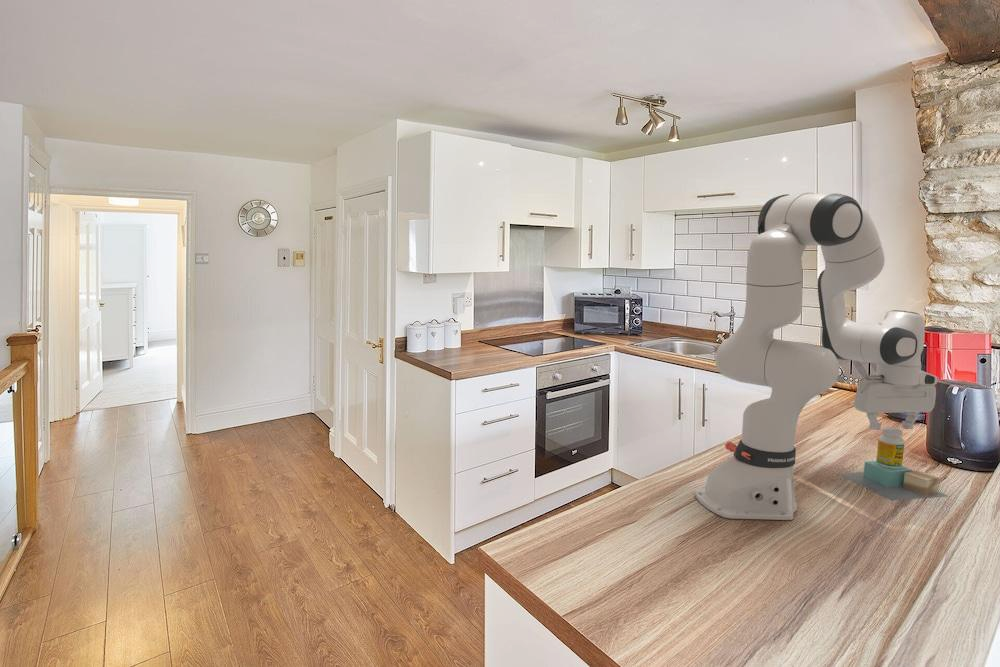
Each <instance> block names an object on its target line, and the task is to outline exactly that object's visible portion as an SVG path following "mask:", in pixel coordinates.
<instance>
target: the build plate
mask: <svg viewBox="0 0 1000 667" xmlns="http://www.w3.org/2000/svg"><path fill="white" fill-rule="evenodd" d="M863 474H864V471H861V472H846V473H844V472H842V473H838V475H839V476H841V477H843V478H845V479H847V480H849V481H851V482H853V483H855V484H857V485H858V486H859V485H860V486H861V487H863V488H865V489H867V490H869V491H872V492H874V493H875V494H877V495H879V496H881V497H883V498H886V499H888V500H890V501H891V502H892V501H893V502H894V501H907V500H920V499H921V500H922V499H931V498H933V499H934V498H947V497H949V495H947V494H945V493H943V492H942V491H940V490H939V491H938V493H936V494H933V495H929V496H923V495H921V494H918V493H915V492H912V491H910V490H907V489H904V488H903V486H897V487H886V486H883V485H881V484H879V483H877V482H875V481H873V480H871V479H868V478H866V477H864V476H863Z"/></svg>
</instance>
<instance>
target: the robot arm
mask: <svg viewBox="0 0 1000 667" xmlns="http://www.w3.org/2000/svg"><path fill="white" fill-rule="evenodd" d="M749 246H750V247H749V251H748V256H747V262H746V276H745V278H746V280H745V284H746V285H745V286H746V287H745V291H746V293H745V308H744V315H743V319H742V322H741V324H740V325H739V327H738V329H736V331H735V332H734V333H733V334H732V335H730V336H729V337H728V338H726V339H724V340H723V341H722V342H721V343H720V345H719V346H718V348H717V349H716V351H715V359H714V361H715V365H716V368H717V370H718V372H719V373H720V374H721V376H723V377H725V378H727V379H731V380H733V381H737V382H739V383H744V384H749V385H750V384H751V385H756V386H762V387H768V388H771V394H770V397H767V398H765V399H761V400H758V401H755V402H752V403H750V404H749V405H747V407H746V408H745V409H744V411H743V415H742V429H741V438H740V440H739V441H738V444H737V445H736V444H735V443H734V442H732V441H727V442H726V443H725V444H724V448H725V449H726V450H727V451H729V452H731V453H733V455H732V456H731V457H730V458H728V459H727V460H725V461H723V463H721V464H720V465H718V466H717V467H716V468H714V469H712V470H711V471H710V472H709V473H708V476H707V478H706V481H705V482H706V483H705V486H704V487H699V488H696V489H695V491H694V496H695V499H696V500H697V501H698V502H699V503H700V504H701V505H702V506H703V507H704V508H706V509H708V510H709V511H711V512H712V513H714V514H715V515H718V516H720V517H722V518H725V519H731V520H732V519H733V520H734V519H736V520H737V519H738V520H739V519H741V520H771V521H772V520H775V521H776V520H777V521H778V520H781V521H791V520H793V519H794V513H795V512H797V510H798V504H797V501H796V496H795V488H794V465H795V464H796V456H797V455H796V454H797V452H796V451H797V450H796V447H795V442H796V441H795V439H796V432H797V426H798V421H799V418H800V415H801V413H802V411H803V409H804V408H805V406H806V405H807V404H808V403H809V402H810V401H811V400H812V399H814V398H815V397H817V396H819V395H820V394H824V392H827V391H828V390H829V389H830V388H832V387H833V386H834V384H836V381H837V380H838V378H839V374H840V364H839V360H840V361H841V360H844V361H845V360H846V361H856V362H862V363H867V364H870V363H871V364H876V369H875V370H876V371H875V375H871V374H868V375H864V377H862V378H861V379H860V380H859V385H858V387H857V389H856V390H857V391H856V393H855V397H854V401H853V406H854V409H855V410H856V411H857V412H861V413H866V417H867V419H868V420H869V429H871V430H874V431H879V430H881V429H882V427H881V426H882V423H881V422H879V420H878V417H879V416H880V414H884V413H887V414H888V413H891V414H892V413H896V414H897V413H906V415H907V416H906V418H905V420H902V421H901V428H902V429H904V430H913V429H914V423H915V422H916V421H917V419H918V418H919V415H920V413H931V412H932V411H933V410H934V408H935V405H936V397H937V388H936V386H935V385H937V383H938V380H939V379H938V376H936V375H933V374H931V373H928V372H926V371H924V370H922V361H921V354H922V352H923V351H924V347H925V346H924V345H925V337H926V336H925V335H926V334H925V333H926V332H925V331H926V329H925V319H924V316H923V315H921V314H920V313H917V312H915V311H906V310H897V309H895V310H893V309H892V310H888V311H886V312H885V315H884V318H883V320H882V321H881V322H878V323H867V322H866V323H865V322H857V321H853V320H851V319H849V317H847V313H846V304H845V293H847V292H850V291H853V290H856V289H859V288H862V287H864V286H866V285H867V284H869V283H870V282H872V281H874V280H875V279H877V277H878V276H879V275H880V274H881V273H882V271H883V268H884V266H885V252H884V250H883V246H882V242H881V239H880V236H879V233H878V230H877V228H876V225H875V223H874V221H873V219H872V217H871V215H870V214H869V212H868V210H867V208H866V207H864V206H863V205H862V204H860V203H859V202H858V201H857V200H856V199H855V198H853V197H851V196H849V195H846V194H842V193H829V194H828V193H818V192H817V193H815V192H800V193H794V194H793V193H791V194H789V193H788V194H782V195H777V196H774V197H773V198H770V199H769V200H768V201H766V202H765V203H764V205H763V206H762V208H761V210H760V212H759V216H758V220H757V236H755V237H754V238H753V239H752V241H751V242H750V245H749ZM807 246H820V249H821V254H822V256H823V259H824V260H823V261H824V267H825V268H824V269H823V270H822V271H821V272H820V274H819V276H818V279H817V296H818V304H819V313H820V319H821V320H820V321H821V346H820V345H816V344H813V343H809V342H801V341H800V342H799V341H790V340H781V339H780V340H779V339H775V338H774V332H775V330H777V329H781V328H783V327H786V326H788V325H791V324H793V323H794V322H796V321H797V320H798V319H799V317H800V316H801V314H802V312H803V287H804V286H803V282H804V280H803V278H804V276H803V274H804V273H803V260H802V257H803V253H804V251H805V250H806V248H807Z"/></svg>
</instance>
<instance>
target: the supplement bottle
mask: <svg viewBox="0 0 1000 667" xmlns="http://www.w3.org/2000/svg"><path fill="white" fill-rule="evenodd" d="M902 436H903V430H902V429H899V428H897V427H889V426H887V427H883V428H882V434H881V435H880V436H878V441H877V449H876V450H877V451H876V460H875V461H876V462H877V464H878V465H880V466H882V467H885V468H890V469H900V468H901V467H902V466H903V461H904V460H903V459H904V452H905V451H904V449H905V440H904V439H903V438H902Z"/></svg>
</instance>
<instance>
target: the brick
mask: <svg viewBox="0 0 1000 667" xmlns="http://www.w3.org/2000/svg"><path fill="white" fill-rule="evenodd" d="M940 482H941V477H940V476H938V475H934V474H931V473H928V472H925V471H922V470H919V469H915V470H913V471H910V472H906V473H905V474H904V483H903V488H904V489H907V490H910V491H912V492H915V493H918V494H921V495H923V496H929V495H933V494H936V493H938V491H939V492H940Z"/></svg>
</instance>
